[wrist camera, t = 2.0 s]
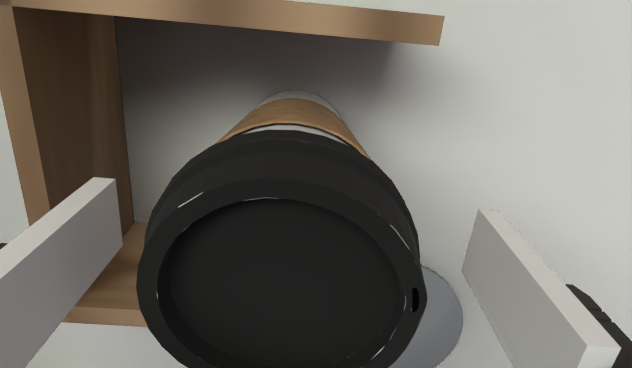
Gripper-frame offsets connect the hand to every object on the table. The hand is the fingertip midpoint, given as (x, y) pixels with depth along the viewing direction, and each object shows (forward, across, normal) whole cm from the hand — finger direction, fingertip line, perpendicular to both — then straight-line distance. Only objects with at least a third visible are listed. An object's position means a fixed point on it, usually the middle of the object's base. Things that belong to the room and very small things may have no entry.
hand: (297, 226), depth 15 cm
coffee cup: (+11, -1, 0) cm, 11 cm away
